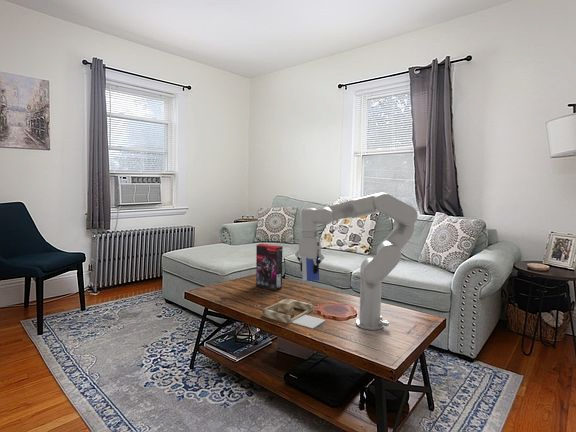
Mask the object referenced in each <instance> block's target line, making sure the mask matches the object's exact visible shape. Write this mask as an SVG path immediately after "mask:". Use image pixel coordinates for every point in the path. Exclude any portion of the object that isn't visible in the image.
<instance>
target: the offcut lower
mask: <svg viewBox="0 0 576 432" xmlns="http://www.w3.org/2000/svg"><path fill="white" fill-rule="evenodd" d="M276 312H279V313H282V314H286V315H290V316H291V318H293V317H295V309H294V308H293V309H292V310H291V311H290V312H289V313H287V312H281V311H278V310H277V311H276Z"/></svg>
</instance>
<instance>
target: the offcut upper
mask: <svg viewBox="0 0 576 432" xmlns="http://www.w3.org/2000/svg"><path fill="white" fill-rule="evenodd" d="M278 302H279V303H278ZM278 302H277V303H278V311H281V312H287V313H289V312H290V311H291V310H292V309H294V307H293V301H291V300H285V298H284V299H282V300H280V301H278Z"/></svg>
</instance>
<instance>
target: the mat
mask: <svg viewBox="0 0 576 432" xmlns="http://www.w3.org/2000/svg"><path fill="white" fill-rule="evenodd" d="M324 322H325V323H326V319H323V318H319V317H315V316H313V315H312V316H311V315H308V314H306V315H303V316H301V317H299V318H298V319H296V320H294V321H292V322H291V323H290V324H295V325H297V326H301V327H305V328H308V329H312V330H313V329H315V328H317V327H318V326H319V325H321V324H323V323H324Z"/></svg>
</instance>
